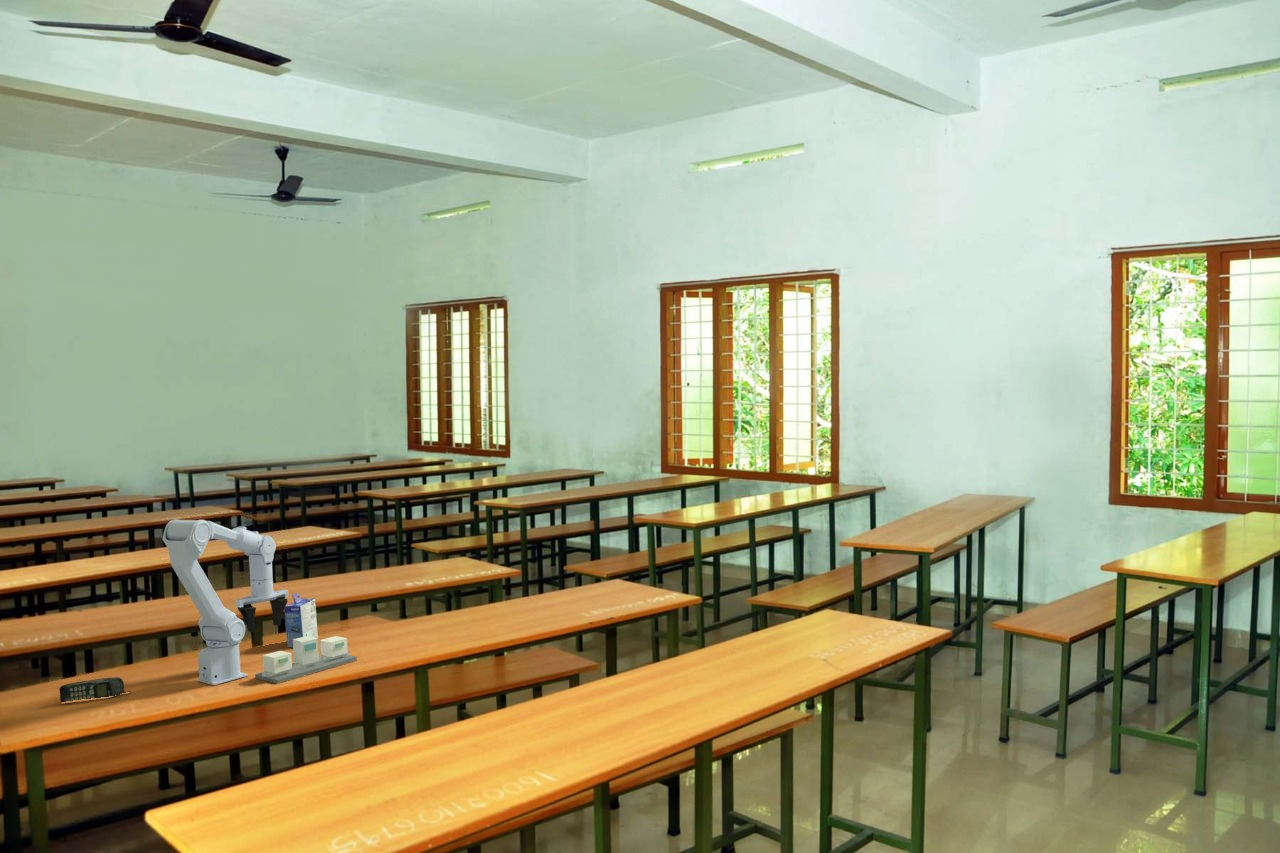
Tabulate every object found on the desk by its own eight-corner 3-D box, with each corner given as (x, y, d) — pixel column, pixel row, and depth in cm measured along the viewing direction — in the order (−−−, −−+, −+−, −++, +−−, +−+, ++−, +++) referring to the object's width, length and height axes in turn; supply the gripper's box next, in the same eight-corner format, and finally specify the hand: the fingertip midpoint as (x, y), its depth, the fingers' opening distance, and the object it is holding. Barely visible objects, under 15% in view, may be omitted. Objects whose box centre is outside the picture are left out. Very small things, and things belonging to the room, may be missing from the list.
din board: (277, 683, 245) (277, 679, 245) (255, 678, 251) (254, 674, 251) (356, 660, 264) (356, 656, 264) (334, 655, 270) (334, 652, 270)
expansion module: (303, 665, 254) (302, 642, 254) (293, 661, 258) (292, 639, 258) (319, 661, 257) (318, 638, 257) (310, 657, 261) (308, 635, 261)
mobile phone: (58, 686, 234) (128, 676, 239) (60, 683, 237) (129, 672, 242) (60, 707, 234) (130, 696, 240) (62, 703, 237) (131, 692, 242)
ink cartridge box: (300, 638, 291) (298, 590, 291) (318, 638, 291) (316, 590, 290) (285, 647, 281) (283, 597, 281) (304, 647, 281) (301, 597, 280)
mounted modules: (275, 673, 247) (274, 658, 247) (263, 670, 250) (262, 655, 250) (348, 653, 264) (347, 638, 264) (336, 650, 268) (335, 636, 268)
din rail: (269, 678, 247) (269, 674, 247) (262, 676, 249) (261, 672, 249) (349, 655, 266) (349, 651, 266) (341, 653, 268) (341, 649, 268)
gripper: (277, 573, 273) (279, 621, 273) (228, 582, 261) (231, 632, 262) (291, 575, 269) (294, 623, 269) (243, 584, 257) (245, 635, 258)
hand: (264, 628), depth 265 cm, fingers open, 7 cm apart
